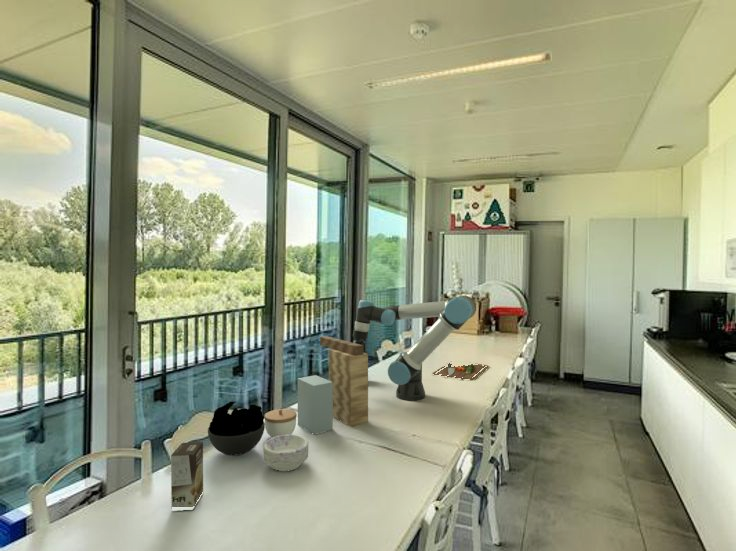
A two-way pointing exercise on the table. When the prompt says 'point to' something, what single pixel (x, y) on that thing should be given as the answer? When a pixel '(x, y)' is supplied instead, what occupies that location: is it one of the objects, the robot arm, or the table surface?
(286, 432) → the lidded bowl
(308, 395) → the base block
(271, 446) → the paper bowls
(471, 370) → the chopping board
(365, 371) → the tall stand
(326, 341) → the walnut block
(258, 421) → the coal bowl
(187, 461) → the coffee box
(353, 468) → the table surface
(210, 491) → the table surface
